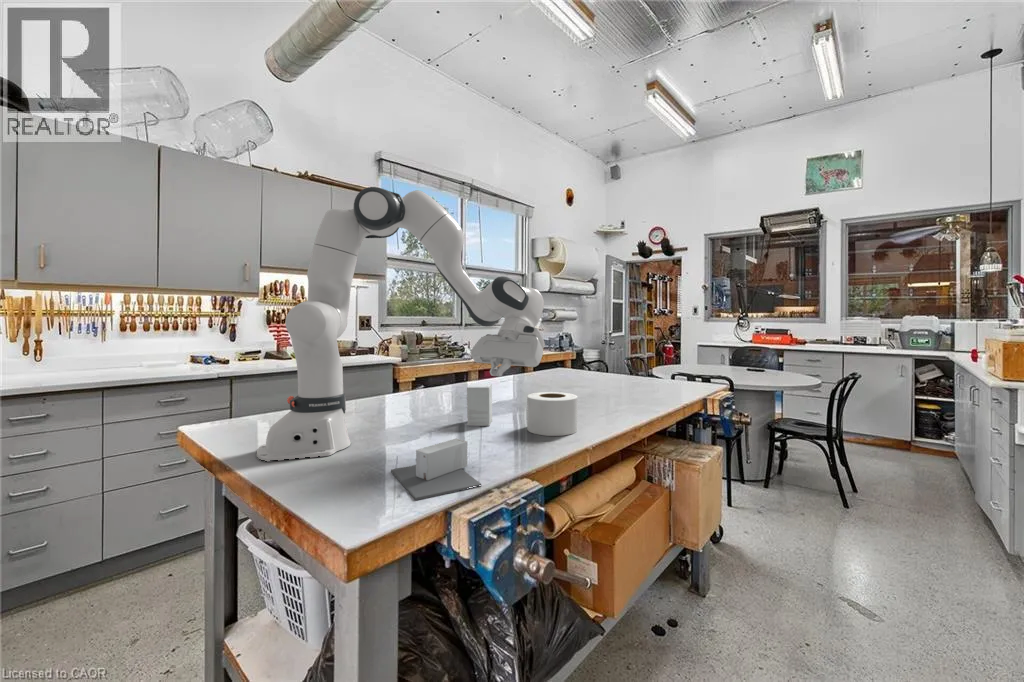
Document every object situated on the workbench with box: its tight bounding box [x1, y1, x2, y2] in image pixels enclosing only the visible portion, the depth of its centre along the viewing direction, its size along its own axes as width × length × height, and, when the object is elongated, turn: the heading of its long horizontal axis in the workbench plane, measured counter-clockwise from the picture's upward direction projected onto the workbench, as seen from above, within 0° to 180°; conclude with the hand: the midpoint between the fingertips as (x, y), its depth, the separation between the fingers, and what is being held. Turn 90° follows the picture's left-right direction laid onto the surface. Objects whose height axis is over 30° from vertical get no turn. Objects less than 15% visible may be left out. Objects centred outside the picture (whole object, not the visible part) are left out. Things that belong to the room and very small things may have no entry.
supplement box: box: [466, 383, 493, 427], centre depth 145 cm, size 7×7×13 cm
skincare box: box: [415, 438, 468, 481], centre depth 99 cm, size 6×4×12 cm
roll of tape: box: [526, 391, 578, 437], centre depth 137 cm, size 16×15×11 cm
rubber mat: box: [390, 464, 482, 501], centre depth 97 cm, size 14×18×1 cm
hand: (495, 374), depth 115 cm, fingers closed
